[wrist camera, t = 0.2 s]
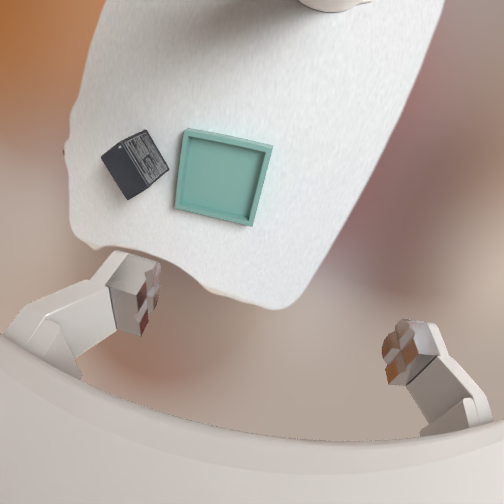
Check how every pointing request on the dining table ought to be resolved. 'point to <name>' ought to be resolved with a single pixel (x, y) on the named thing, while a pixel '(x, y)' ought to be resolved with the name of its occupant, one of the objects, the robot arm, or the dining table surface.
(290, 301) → the dining table surface
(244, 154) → the teal tray
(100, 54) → the dining table surface
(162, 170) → the small box
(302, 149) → the dining table surface
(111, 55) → the dining table surface
